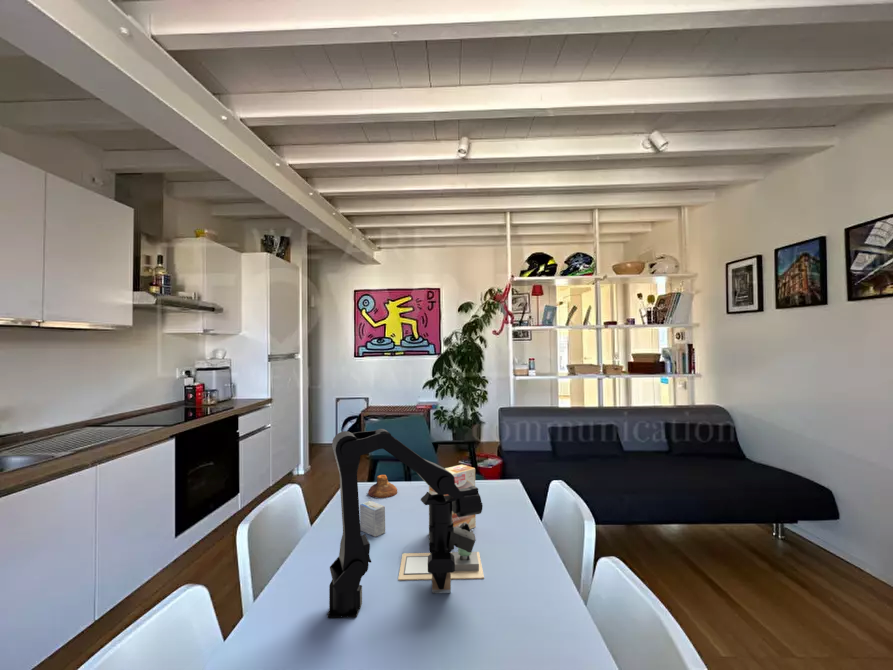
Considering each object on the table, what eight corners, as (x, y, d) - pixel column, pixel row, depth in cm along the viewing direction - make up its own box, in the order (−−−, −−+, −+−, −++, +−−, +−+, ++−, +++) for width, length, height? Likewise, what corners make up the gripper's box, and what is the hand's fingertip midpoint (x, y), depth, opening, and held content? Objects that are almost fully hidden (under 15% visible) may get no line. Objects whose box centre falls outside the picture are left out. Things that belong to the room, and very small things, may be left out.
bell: (372, 488, 184) (372, 471, 185) (400, 489, 183) (400, 472, 183) (364, 498, 173) (364, 479, 173) (394, 499, 172) (393, 480, 172)
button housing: (452, 572, 114) (452, 564, 114) (451, 559, 121) (451, 552, 121) (478, 571, 114) (478, 564, 115) (476, 558, 121) (476, 551, 122)
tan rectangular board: (398, 580, 111) (398, 578, 111) (402, 554, 125) (402, 552, 125) (484, 578, 111) (484, 576, 111) (478, 552, 125) (478, 551, 125)
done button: (458, 563, 116) (458, 550, 116) (457, 557, 120) (457, 544, 120) (471, 563, 116) (471, 550, 116) (470, 556, 120) (470, 543, 120)
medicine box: (385, 533, 139) (385, 505, 140) (374, 537, 136) (374, 509, 136) (370, 526, 145) (370, 500, 145) (359, 530, 141) (359, 503, 142)
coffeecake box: (442, 540, 133) (441, 476, 134) (428, 533, 139) (427, 472, 139) (476, 527, 143) (476, 467, 144) (462, 520, 148) (461, 463, 149)
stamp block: (432, 593, 105) (431, 572, 105) (432, 583, 109) (432, 563, 109) (450, 592, 105) (450, 571, 105) (450, 582, 109) (450, 562, 109)
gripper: (476, 535, 98) (477, 605, 98) (470, 505, 117) (471, 564, 116) (427, 535, 98) (427, 606, 97) (429, 506, 117) (429, 565, 116)
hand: (441, 583), depth 107 cm, fingers closed on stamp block, 4 cm apart
